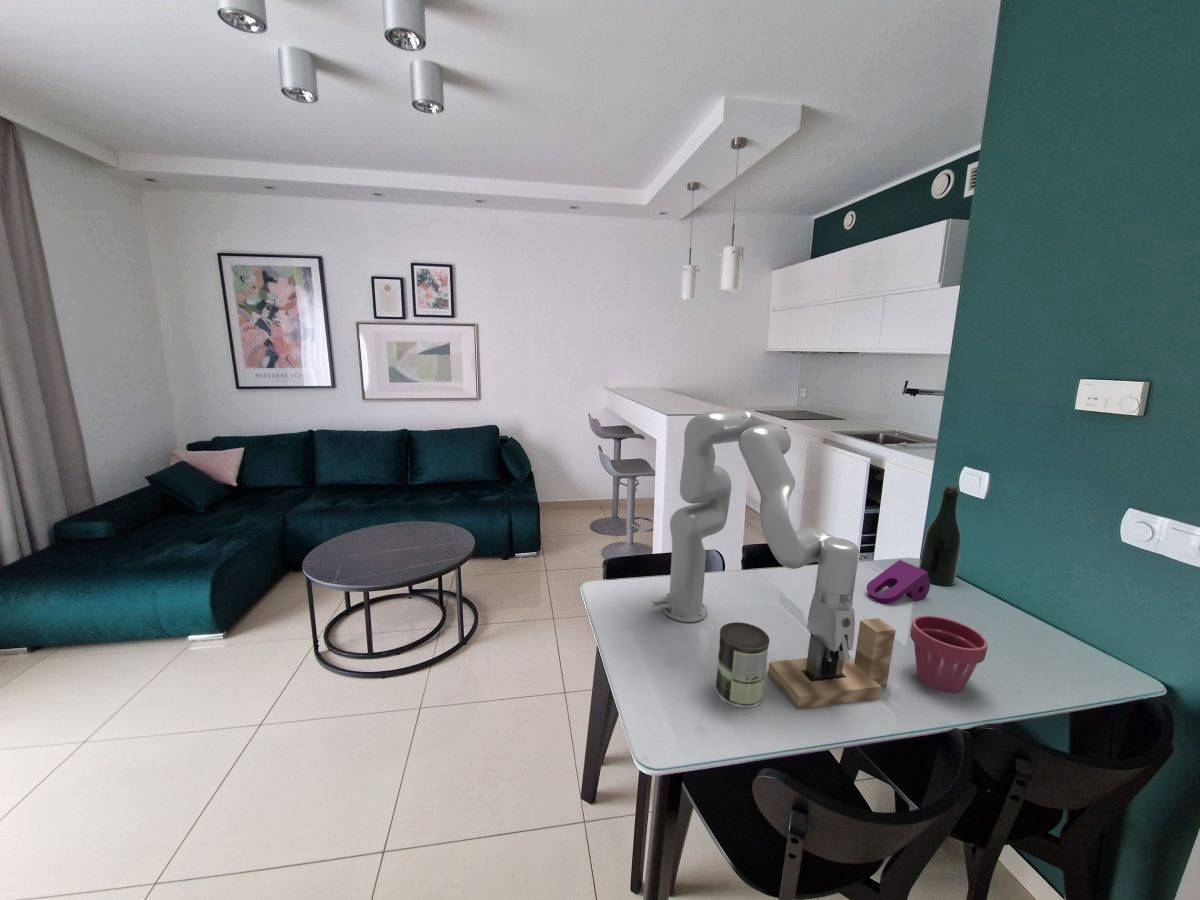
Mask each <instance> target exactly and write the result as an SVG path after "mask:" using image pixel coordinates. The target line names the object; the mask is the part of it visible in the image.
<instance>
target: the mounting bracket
mask: <svg viewBox="0 0 1200 900" xmlns="http://www.w3.org/2000/svg"><path fill="white" fill-rule="evenodd" d="M886 587H887V588H888V589H887V590H886V591H885V592H884V593H879V592H880V591H882V589H884V588H886ZM930 588H931V583H930V582H929V577H928V572H927V571H925V570H922V569H920V568H919V567H917V566H915V565H913V564H911V563H908V562H906V561H904V560H902V559H899V560H897V561H896V562H894V563H893V564H892V565H891V566H889V567H888V568H886V569H885V570H883V572H881V573H879V574H878V575H877V576H876V577H874V578H873V579H871V580H870V581H868V583H867V584H866V591H867V592H866V593H867V596H868V598H870V599H871V600H872V599H873V600H872V601H874V600H875V602H876V601H877V603H879V602H880V603H879V604H882V603H883V604H885V605H886V604H888V605H889V604H893V603H895V602H897V601H899V600H900V599H902V598H903V597H904V596H906V597H907V598H909V599H911V600H913V601H915V602H918V601H919V602H920V601H923V600H924V599H925V598H927V596H928V594H929V592H930Z"/></svg>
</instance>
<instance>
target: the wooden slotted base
mask: <svg viewBox="0 0 1200 900" xmlns="http://www.w3.org/2000/svg"><path fill="white" fill-rule="evenodd" d="M858 627H859V629H858V635H857V641H856V642H857V643H856V647H855V655H854V661H853V660H852V659H851V658H850V660H845V661H844V662H843V669H842V676H841V678H837V679H829V680H820V681H812V682H811V681H810V680H809V679H808V678H807V677H806V676H805V673H806V665H807V657H805V658H804V657H802V658H795V659H784V660H777V661H776V660H775V661H769V662H768V671H767V674H768V676H769V677H770V678H772V680H773V682H775V684H776V685H777V686H778V687H779V689H780V690H781V691H782V692H783V693H784V694H785V696H786V697H787V698H788V699H789V701H791V703H792V704H793V705H794V706H795V707H796V709H797V708H798V710H801V709H811V708H819V707H825V706H831V705H833V706H835V705H839V704H840V705H841V704H847V703H855V702H862V701H870V700H877V699H880V698H881V690H882V687H885V686H888V682H889V676H890V675H889V673H890V670H891V669H890V668H891V662H892V655H893V649H894V642H895V637H896V631H897V630H896V629H895V628H894V627H892V626H891V625H890V624H888V623H886V621H884V620H882V619H881V618H880V617H879V618H876V617H875V618H870V619H869V618H868V619H860V620H859V626H858ZM818 706H819V707H818Z"/></svg>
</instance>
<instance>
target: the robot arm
mask: <svg viewBox="0 0 1200 900" xmlns="http://www.w3.org/2000/svg"><path fill="white" fill-rule="evenodd" d="M683 435H684V437H683V438H684V439H683V442H684V443H683V446H684V447H683V458H682V464H681V473H680V480H679V493H680V497H681V499H682V500H683V501H684V502H686V503H687V504H691V505H686V506H683V507H680V508H679V509H677V510H676V511H675V512H673V514H672V515H671V517H670V521H669V529H670V536H671V563H670V565H671V566H670V577H669V578H670V580H669V591H668V593H666V595H665V597H663V598H653V599H652V606H653V607H656V606H657V607H659V609H660V610H662V611H663V612H664V614H665V615H666V616H667V617H669V618H671V619H673V620H675V621H678V622H681V623H695V622H696V623H697V622H700V621H703V620H704V619H706V617H707V616H708V609H707V607H706V605H705V604H704V603H703V600H704V599H703V598H704V587H705V585H704V584H705V571H706V560H707V559H706V558H707V555H706V549H705V547H704V544H703V538H706V537H710V536H712V535H714V534H717V533H719V532H721V531H722V530H724V528H725V526H726V523H727V520H728V515H729V508H730V501H731V500H730V499H731V494H732V481H731V480H732V479H731V477H730V475H729V472H728V471H727V470H726V469H725V468H724V467H722V466H719V465H716V464H715V463H716V451H715V448H714V445H718V444H720V445H721V444H727V443H738V448H739V451H740V453H741V455H742V457H743V459H744V462H745V464H746V466H747V469H748V470H749V472H750V474H751V477H752V479H753V481H754V484H755V486H756V487H757V490H758V492H759V495H760V503H759V518H760V519H759V520H760V521H759V522H760V527H761V530H762V534H763V536H764V538H765V540H766V543H767V545H768V547H769V549H770V551H771V553H772V555H773V557H774V558H775V560H777V562H778V563H779V564H780V565H781V566H783V567H784V568H787V569H790V570H791V569H792V570H795V569H800V568H802V567H803V568H804V567H805V566H807V565H809V564H811V563H817V571H816V573H817V574H816V579H815V587H814V593H813V596H812V597H811V603H810V606H809V610H808V611H809V612H808V618H807V626H806V628H807V630H808V632H809V634H810V636H814V635H815V636H816V637H818V638H819V639H820V640H821V641H822V642H823V643H824V645H825V646H826V647H827V651H826V659H824V662H823V670H822V675H823V676H832V675H836V671H837V664H838V661H840V660H843V661H845V660H850V659H851V658H850V652H849V651H852V650H853V647H854V640H855V629H856V628H855V626H856V625H855V624H856V623H855V622H856V621H855V611H854V607H853V599H854V598H853V597H854V591H855V585H856V577H857V570H858V564H859V557H860V548H859V547H858V545H857V544H855V543H854V542H852V541H851V540H849V539H845V538H842V537H841V538H840V537H835V536H833V535H831V534H829V533H828V532H825V531H823V530H821V529H819V528H817V527H813V526H807V527H803V528H800V529H797V530H795V528H794V527H793V524H792V522H791V520H790V515H789V509H788V508H789V501H790V497H791V495H792V493H793V491H794V488H795V486H796V479H795V476H794V475H793V473H792V471H791V469H790V467H789V465H788V463H787V461H786V458H785V457H784V455H786V454H787V453H788V452H789V450H790V448H791V446H792V440H791V436H790V433H789V432H788V431H787V429H786V428H785V427H783V426H782V425H780V424H779V423H777V422H774V421H772V420H770V419H768V418H765V417H762V416H759V415H757V414H755V413H752V412H750V411H747V410H744V409H728V410H727V409H726V410H722V409H721V410H713V411H711V410H710V411H706V412H703V413H699V414H696V415H695V416H694V417H692V418H691V419H690V420H689V421H688V423H687V424H686V426H685V429H684V434H683ZM832 651H833V652H835V654H832Z"/></svg>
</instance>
